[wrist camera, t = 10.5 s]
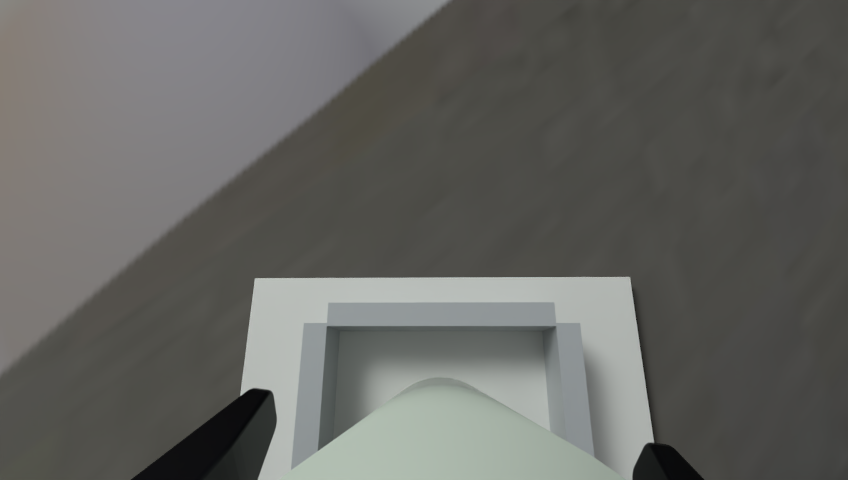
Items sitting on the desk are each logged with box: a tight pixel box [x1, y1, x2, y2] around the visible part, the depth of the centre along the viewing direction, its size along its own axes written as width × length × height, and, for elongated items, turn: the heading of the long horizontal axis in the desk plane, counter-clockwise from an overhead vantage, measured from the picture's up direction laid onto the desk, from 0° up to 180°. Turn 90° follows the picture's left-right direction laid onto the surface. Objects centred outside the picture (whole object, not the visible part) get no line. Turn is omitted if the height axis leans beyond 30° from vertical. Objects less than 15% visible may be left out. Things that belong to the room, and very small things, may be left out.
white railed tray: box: [240, 277, 654, 480], centre depth 14 cm, size 12×15×3 cm
